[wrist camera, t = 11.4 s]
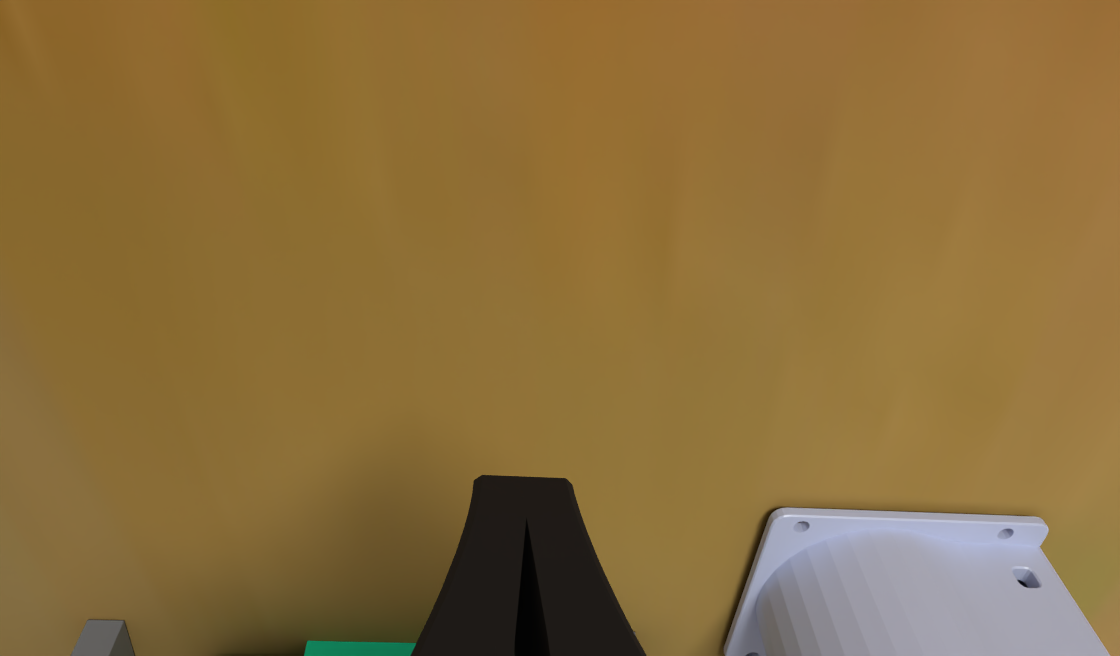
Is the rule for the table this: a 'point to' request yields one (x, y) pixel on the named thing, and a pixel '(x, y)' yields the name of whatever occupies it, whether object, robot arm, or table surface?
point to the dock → (104, 639)
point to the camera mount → (357, 648)
